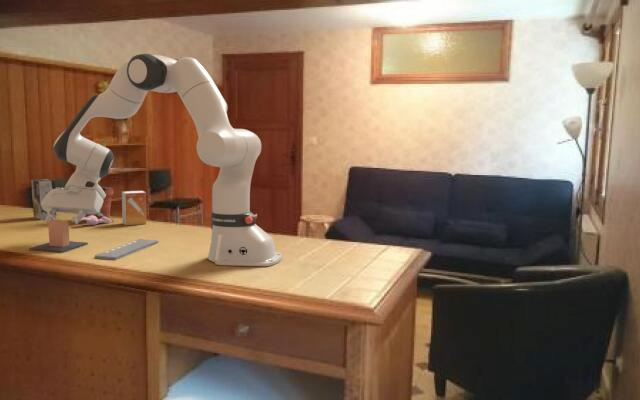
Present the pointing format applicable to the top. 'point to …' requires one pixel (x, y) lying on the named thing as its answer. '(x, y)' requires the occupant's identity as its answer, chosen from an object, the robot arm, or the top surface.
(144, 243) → the plate
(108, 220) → the rabbit figure
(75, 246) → the mat
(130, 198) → the small box
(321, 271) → the top surface
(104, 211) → the potted plant
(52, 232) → the stub block
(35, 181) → the coffee box
